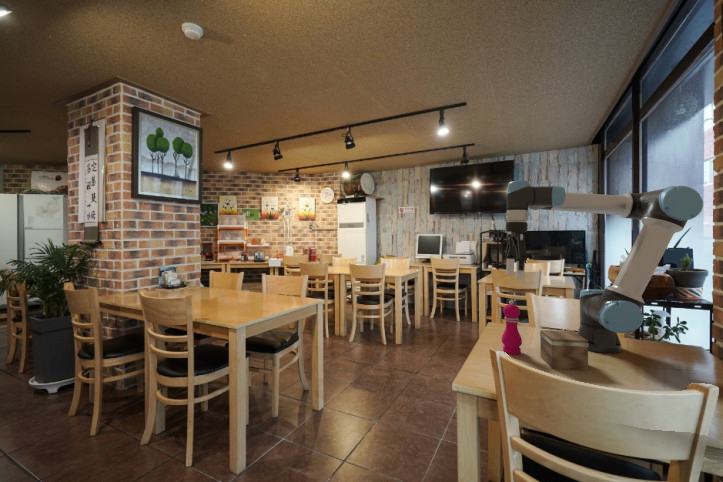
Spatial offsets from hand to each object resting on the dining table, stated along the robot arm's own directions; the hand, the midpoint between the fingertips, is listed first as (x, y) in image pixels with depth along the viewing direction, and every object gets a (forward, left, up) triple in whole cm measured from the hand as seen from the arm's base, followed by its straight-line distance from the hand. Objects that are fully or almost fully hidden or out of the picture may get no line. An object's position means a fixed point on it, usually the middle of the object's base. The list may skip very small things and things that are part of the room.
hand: (514, 277), depth 127 cm
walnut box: (-13, +9, -29) cm, 33 cm away
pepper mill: (+1, 0, -29) cm, 29 cm away
